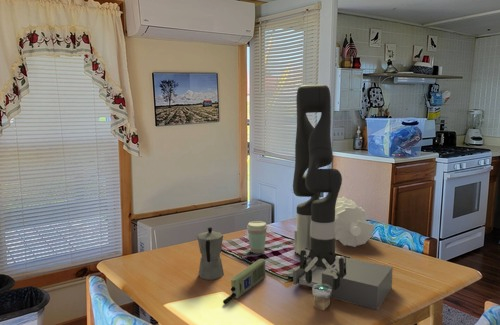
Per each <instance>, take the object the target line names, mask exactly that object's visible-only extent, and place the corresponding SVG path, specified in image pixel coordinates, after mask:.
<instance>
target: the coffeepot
mask: <svg viewBox="0 0 500 325" xmlns="http://www.w3.org/2000/svg"><path fill="white" fill-rule="evenodd" d="M196 237H197V242H198V247H199V253H200V254H201V257H200V263H199V269H198V276H199V277H200V278H201V279H202V280H206V281H207V280H208V281H215V280H218V279H220V278H222V277H223V276H224V273H225V272H224V268H223V267H224V266H223V262H222V258H221V253H222V249H223V248H222V246H223V240H224V235H223V234H222V233H221V232H220V231H219V232H218V231H215V230H213V227H211V226H210V227H209V226H208V227H207V231H206V232H200V233H199V234H197V236H196Z"/></svg>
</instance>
